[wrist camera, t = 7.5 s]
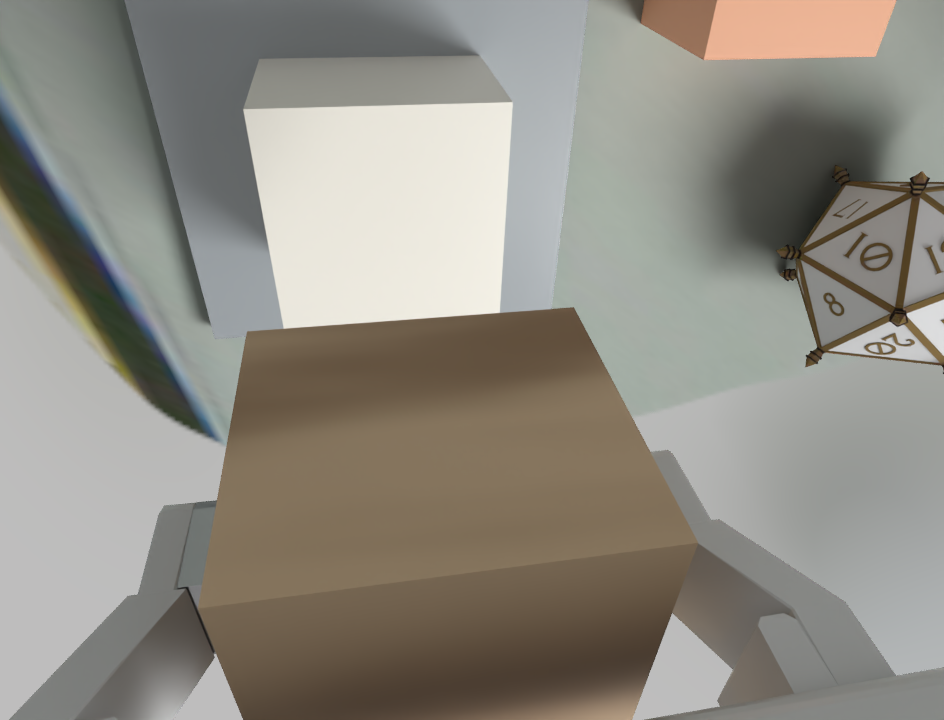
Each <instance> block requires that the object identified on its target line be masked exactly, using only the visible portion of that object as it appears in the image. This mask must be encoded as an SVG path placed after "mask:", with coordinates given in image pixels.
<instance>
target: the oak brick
mask: <svg viewBox="0 0 944 720" xmlns="http://www.w3.org/2000/svg"><path fill="white" fill-rule="evenodd" d="M697 545H698V541H697V539H696V537H695V535H694V534H693V532H692V530H691V528H690V526H689V524H688V522H687V520H686V518H685V517H684V515H683V513H682V511H681V509H680V507H679V505H678V503H677V501H676V500H675V498H674V496H673V494H672V492H671V490H670V488H669V486H668V484H667V483H666V481H665V479H664V477H663V475H662V473H661V471H660V469H659V467H658V466H657V464H656V462H655V460H654V458H653V456H652V454H651V452H650V450H649V449H648V447H647V445H646V443H645V441H644V439H643V437H642V435H641V434H640V432H639V430H638V428H637V426H636V424H635V422H634V420H633V418H632V417H631V415H630V413H629V411H628V409H627V407H626V405H625V403H624V401H623V400H622V398H621V396H620V394H619V392H618V390H617V388H616V386H615V384H614V383H613V381H612V379H611V377H610V375H609V373H608V371H607V369H606V367H605V366H604V364H603V362H602V360H601V358H600V356H599V354H598V352H597V350H596V349H595V347H594V345H593V343H592V341H591V339H590V337H589V335H588V333H587V332H586V330H585V328H584V326H583V324H582V322H581V320H580V318H579V316H578V315H577V313H576V311H575V309H574V307H573V308H559V309H545V310H532V311H518V312H505V313H491V314H477V315H464V316H450V317H436V318H423V319H409V320H395V321H382V322H368V323H354V324H341V325H327V326H313V327H300V328H286V329H273V330H259V331H247V334H246V340H245V346H244V351H243V357H242V363H241V368H240V374H239V379H238V385H237V391H236V396H235V402H234V408H233V413H232V419H231V424H230V430H229V436H228V441H227V447H226V453H225V458H224V464H223V469H222V475H221V481H220V486H219V492H218V498H217V503H216V509H215V515H214V520H213V526H212V531H211V537H210V543H209V548H208V554H207V560H206V565H205V571H204V576H203V582H202V588H201V593H200V599H199V605H198V610H199V613H200V615H201V618H202V620H203V623H204V625H205V627H206V630H207V632H208V635H209V637H210V640H211V642H212V644H213V647H214V649H215V652H216V654H217V657H218V659H219V662H220V664H221V666H222V669H223V671H224V674H225V676H226V679H227V681H228V684H229V686H230V688H231V691H232V693H233V695H234V698H235V701H236V703H237V706H238V708H239V710H240V713H241V715H242V718H243V720H632V718H633V715H634V713H635V710H636V707H637V705H638V702H639V699H640V697H641V694H642V692H643V689H644V686H645V684H646V681H647V678H648V676H649V673H650V670H651V667H652V665H653V662H654V660H655V657H656V654H657V652H658V649H659V646H660V644H661V641H662V638H663V635H664V633H665V630H666V628H667V625H668V622H669V620H670V617H671V614H672V612H673V609H674V606H675V604H676V601H677V598H678V596H679V593H680V590H681V588H682V585H683V582H684V580H685V577H686V574H687V572H688V569H689V566H690V564H691V561H692V558H693V556H694V553H695V550H696V548H697Z"/></svg>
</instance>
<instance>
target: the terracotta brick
mask: <svg viewBox="0 0 944 720" xmlns="http://www.w3.org/2000/svg"><path fill="white" fill-rule="evenodd" d="M896 1H897V0H644V6H643V12H642V18H641V24H643V25H644V26H646V27H648V28H649V29H651V30H653V31H655V32H656V33H658V34H660V35H662V36H663V37H665V38H667V39H668V40H670V41H672V42H674V43H675V44H677V45H679V46H681V47H682V48H684V49H686V50H687V51H689V52H691V53H693V54H694V55H696V56H698V57H699V58H701V59H703V60H728V59H778V58H828V57H876V54H877V51H878V49H879V46H880V43H881V41H882V38H883V35H884V33H885V30H886V27H887V25H888V22H889V19H890V17H891V14H892V11H893V9H894V6H895V3H896Z"/></svg>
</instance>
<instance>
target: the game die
mask: <svg viewBox="0 0 944 720" xmlns="http://www.w3.org/2000/svg"><path fill="white" fill-rule="evenodd" d="M846 171H847V169H843V168H841V167H839V166H836V165H835V171H834V176H832V177H833V178H834V177H835V179H836V182H838V183H839V184H841V188H840V189H839V191H838V192H837V194H836V195H835V197H834V198H833V199H832V201H831V202H830V204H829V205H828V207H827V208H826V210H825V211H824V213H823V214H822V216H821V217H820V219H819V220H818V222H817V223H816V224H815V226H814V227H813V229H812V230H811V232H810V233H809V235H808V236H807V238H806V239H805V241H804V242H803V244H802V245H801V246H800V248H799V249H798V250H797V249H796V248H795V247H794V246H792V247H790V246H789V245H786V246H785V247H783V248H781V249H779V250H776V251H777V252H778V253H779V254H780V255H781V258H784V259H787V258H788V259H790V260H792V259H793V258H796V270H795V269H785V270H784V272H782V273H781V274H780V276H782V277H783V278H784V279H786V280H787V281H789V280H792V281H793V280H794V279H796V278H797V281H798V284H799V287H800V291H801V294H802V297H803V301H804V304H805V307H806V311H807V314H808V317H809V321H810V324H811V327H812V331H813V334H814V337H815V341H816V344H817V349H815V350H814V351H810V352H811V353H810V354H809V355H806V357H807V359H806V367H808V366H811V365H814V364H818V361H819V360H821V359H822V358H821V357H822V355H823V354H824V353H833V354H842V355H851V356H860V357H869V358H878V359H888V360H896V361H905V362H914V363H924V364H933V365H941V366H942V367H943V370H944V182H928V181H929V179H930V178H929V177H927V176H926V175H925V174H924V173H923V171H922V172H920V173H919V174H917V175H916V176H914V177H911V178H910V180H911V182H858V181H850V180H849V178H848V177H849V173H848V174H847V172H846ZM943 374H944V372H943Z"/></svg>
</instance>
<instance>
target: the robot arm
mask: <svg viewBox="0 0 944 720" xmlns="http://www.w3.org/2000/svg"><path fill="white" fill-rule="evenodd" d="M651 454H652V456H653V458H654V460H655V462H656V464H657V466H658V467H659V469H660V471H661V473H662V475H663V477H664V479H665V481H666V483H667V484H668V486H669V488H670V490H671V492H672V494H673V496H674V498H675V500H676V501H677V503H678V505H679V507H680V509H681V511H682V513H683V515H684V517H685V518H686V520H687V522H688V524H689V526H690V528H691V530H692V532H693V534H694V535H695V537H696V539H697V541H698V545H697V548H696V550H695V553H694V556H693V558H692V561H691V564H690V566H689V569H688V572H687V574H686V577H685V580H684V582H683V585H682V588H681V590H680V593H679V596H678V598H677V601H676V604H675V606H674V609H673V612H672V613H673V614H674V615H675V616H676V617H677V618H678V619H679V620H680V621H682V622H683V623H684V624H685V625H686V626H687V627H688V628H689V629H690V630H691V631H692V632H693V633H695V635H697V636H698V637H699V638H700V639H701V640H702V641H703V642H704V643H705V644H706V645H707V646H708V647H709V648H711V649H712V650H713V651H714V652H715V653H716V654H717V655H718V656H719V657H720V658H721V659H722V660H723V661H724V662H725V663H727V664H728V665H729V666H730V667H731V668H732V669H733V671H732V673H731V675H730V677H729V679H728V681H727V683H726V685H725V686H724V688H723V690H722V692H721V694H720V697H719V698H718V703H719V705H720V707H715V708H709V709H704V710H698V711H692V712H686V713H681V714H675V715H670V716H663V717H658V718H653V719H646V720H944V667H943V668H937V669H931V670H926V671H920V672H914V673H909V674H903V675H897V676H896V675H895V673H894V672H893V671H892V670H891V668H890V666H889V665H888V663H887V662H886V660H885V659H884V657H883V656H882V655H881V653H880V652H879V650H878V649H877V647H876V646H875V644H874V643H873V641H872V640H871V638H870V637H869V636H868V634H867V633H866V631H865V630H864V628H863V627H862V625H861V624H860V622H859V621H858V620H857V618H856V617H855V615H854V614H853V612H852V611H851V609H850V608H849V607H848V605H847V604H846V602H845V601H843V600H842V599H840V598H839V597H837V596H836V595H834V594H832V593H831V592H829V591H828V590H826V589H825V588H823V587H821V586H820V585H819V584H817V583H816V582H814V581H812V580H811V579H809V578H808V577H806V576H805V575H803V574H802V573H800V572H799V571H797V570H796V569H794V568H793V567H791V566H790V565H788V564H786V563H785V562H784V561H782V560H781V559H779V558H777V557H776V556H774V555H773V554H771V553H770V552H768V551H767V550H765V549H764V548H762V547H761V546H759V545H758V544H756V543H755V542H753V541H752V540H750V539H748V538H747V537H745V536H744V535H742V534H741V533H739V532H738V531H736V530H735V529H733V528H732V527H730V526H728V525H727V524H726V523H724V522H723V521H721V520H719V519H718V520H711V519H710V517H709V515H708V513H707V512H706V510H705V508H704V507H703V505H702V503H701V501H700V500H699V498H698V496H697V495H696V493H695V491H694V489H693V488H692V486H691V484H690V483H689V481H688V479H687V477H686V476H685V474H684V472H683V470H682V469H681V467H680V465H679V464H678V462H677V460H676V458H675V457H674V455H673V454H672V453H671V452H670V451H668V450H664V451H655V452H651ZM216 503H217V501H206V502H197V503H188V504H178V505H166V506H164V507H163V509H162V510H161V512H160V513H159V515H158V519H157V523H156V527H155V531H154V535H153V538H152V542H151V546H150V550H149V554H148V557H147V561H146V565H145V569H144V573H143V577H142V581H141V585H140V588H139V592H138V595H131V596H127V598H126V599H125V600H124V601H123V602H122V603H121V604H120V605H119V606H118V607H117V608H116V609H115V610H114V611H113V612H112V613H111V614H110V615H109V616H108V617H107V618H106V619H105V620H104V622H103V623H102V624H101V625H100V626H99V627H98V628H97V629H96V630H95V631H94V632H93V633H92V634H91V635H90V636H89V637H88V638H87V639H86V640H85V641H84V642H83V643H82V644H81V646H80V647H79V648H77V650H76V651H75V652H74V653H73V654H72V655H71V656H70V657H69V658H68V659H67V660H66V661H65V662H64V663H63V664H62V665H61V666H60V667H59V668H58V669H57V670H56V671H55V672H54V673H53V675H52V676H51V677H50V678H49V679H48V680H47V681H46V682H45V683H44V684H43V685H42V686H41V687H40V688H39V689H38V690H37V691H36V692H35V693H34V694H33V695H32V696H31V697H30V699H28V701H27V702H26V703H25V704H24V705H23V706H22V707H21V708H20V709H19V710H18V711H17V712H16V713H15V714H14V715H13V716H12V717H11V718H10V719H9V720H173V719H174V718H175V716H176V715H177V713H178V712H179V710H180V709H181V707H182V706H183V704H184V703H185V701H186V700H187V698H188V696H189V695H190V694H191V692H192V691H193V689H194V688H195V686H196V685H197V683H198V682H199V680H200V679H201V677H202V676H203V674H204V673H205V671H206V669H207V668H208V667H209V665H210V664H211V662H212V661H213V659H214V654H216V652H215V649H214V647H213V644H212V642H211V640H210V637H209V635H208V632H207V630H206V627H205V625H204V623H203V620H202V618H201V615H200V613H199V610H198V605H199V599H200V593H201V588H202V582H203V576H204V571H205V565H206V560H207V554H208V548H209V543H210V537H211V531H212V526H213V520H214V515H215V509H216Z"/></svg>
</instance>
